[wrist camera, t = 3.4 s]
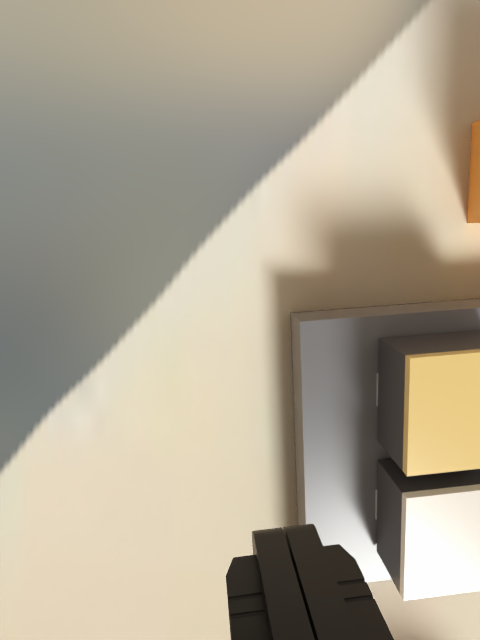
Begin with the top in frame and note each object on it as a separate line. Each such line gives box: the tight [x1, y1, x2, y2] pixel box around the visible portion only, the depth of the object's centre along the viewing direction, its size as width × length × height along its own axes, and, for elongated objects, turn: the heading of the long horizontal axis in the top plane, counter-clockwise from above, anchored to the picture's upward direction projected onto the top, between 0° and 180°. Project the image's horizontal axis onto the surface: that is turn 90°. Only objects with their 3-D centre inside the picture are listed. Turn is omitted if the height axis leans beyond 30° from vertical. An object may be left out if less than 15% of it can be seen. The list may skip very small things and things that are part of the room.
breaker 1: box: [378, 330, 480, 476], centre depth 19 cm, size 5×5×3 cm
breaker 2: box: [377, 459, 480, 601], centre depth 20 cm, size 5×5×3 cm
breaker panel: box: [291, 298, 480, 582], centre depth 22 cm, size 18×14×3 cm
